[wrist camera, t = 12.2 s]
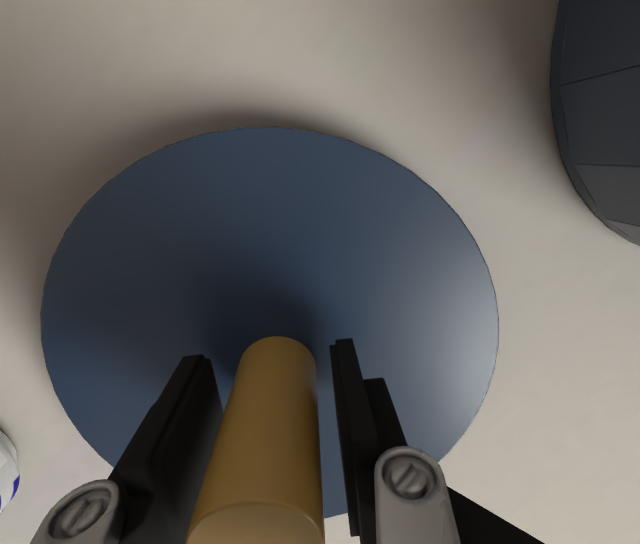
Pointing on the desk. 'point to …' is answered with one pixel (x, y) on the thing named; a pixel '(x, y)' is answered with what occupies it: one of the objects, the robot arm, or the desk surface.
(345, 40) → the desk surface
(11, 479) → the beverage can
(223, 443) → the lid
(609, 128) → the tin
